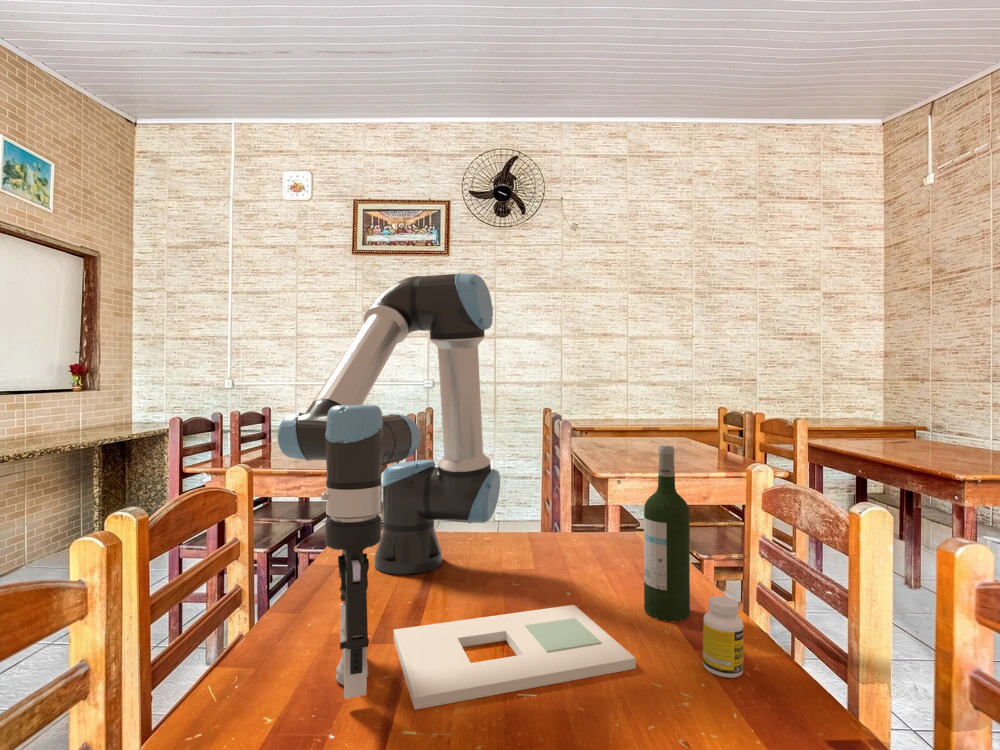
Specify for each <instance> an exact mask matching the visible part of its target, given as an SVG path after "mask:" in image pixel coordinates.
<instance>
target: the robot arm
mask: <svg viewBox="0 0 1000 750" xmlns="http://www.w3.org/2000/svg"><path fill="white" fill-rule="evenodd" d="M493 307H494V306H493V303H492V297H491V294H490V289H489V287H488V285H487V284H486V282H485V280H484V279H483V278H482V277H481V276H480V275H479V274H475V273H461V272H459V273H451V274H449V273H448V274H438V275H437V274H436V275H435V274H434V275H433V274H432V275H415V276H409V277H406V278H404V279H402V280H399V281H397V282H396V283H394V284H392V285H390V286H389V287H387V289H386V290H384V291H383V292H382V293H380V294H379V295H378V296H377V297H376V298H375V299H374V301H373V302H372V303H370V305H369V306H368V308H367V310H366V311H365V312H364V314H363V315H364V316H363V325H362V327H361V328H360V330H359V331H358V333H357V334H356V335H355V337H354V339H353V340H352V342H351V343H350V344H349V346H348V348H347V350H346V351H345V353H344V354H343V355H342V357H341V358H340V360H339V362H338V363H337V365H336V366H335V368H334V369H333V370H332V372H331V373H330V375H329V377H328V378H327V379H326V381H325V383H324V384H323V385H322V387H321V388H320V391H319V392H318V393H317V394H316V397H315V398H314V400H313V401H312V402H311V404H310V405H309V407H308V408H307V410H306V411H305V412H297V413H292V414H289V415H287V416H285V417H284V418H283V419H282V421H281V422H280V424H279V426H278V431H277V444H278V447H279V449H280V451H281V452H282V454H283V455H285V457H287V458H290V459H294V460H295V459H296V460H304V461H326V465H325V466H326V479H325V481H326V482H325V485H326V488H325V489H326V492H323V493H322V494H321V495H320V499H321V500H322V501H326V502H325V504H326V505H325V514H326V515H327V516H328V518H327V519H326V520H325V526H324V527H325V533H324V534H325V535H324V536H325V537H324V539H325V540H324V541H325V544H326V546H327V547H328V548H330V549H332V550H336V551H340V550H341V555H338V556H337V567H338V575H339V578H340V586H339V591H340V596H339V597H340V600H341V602H340V620H339V621H340V622H339V623H340V627H339V628H340V629H339V630H340V633H339V634H340V635H339V638H340V639H339V650H343V649H345V660H344V685H343V687H344V688H343V689H344V690H343V697H344V699H351V698H357V697H362V696H367V683H368V682H367V681H368V680H367V678H368V676H367V670H368V669H367V664H368V660H367V658H368V651H367V650H368V647H369V643H370V639H369V636H368V634H369V632H368V628H369V627H368V601H367V599H368V598H367V597H368V595H367V593H368V586H369V582H368V581H369V580H368V579H369V577H368V572H369V568H370V561H369V558H368V553H365V552H364V550H366V549H367V548H373V547H374V546H376V545H377V547H376V550H375V554H374V568H375V569H376V570H377V571H379V572H382V573H386V574H390V575H414V574H421V573H427V572H429V571H433V570H435V569H437V568H438V567H440V566H441V564H442V563H443V562H442V560H443V558H442V554H443V553H442V549H441V545H440V543H439V540H438V537H437V534H436V530H435V521H445V522H454V523H455V522H456V523H466V524H473V523H474V524H475V523H476V524H485V523H487V522H489V521H490V520H491V519H492V517H493V516H494V513H495V511H496V508H497V505H498V501H499V496H500V490H501V476H500V471H499V470H496V469H493V468H492V466H491V465H492V464H491V458H490V457H488V456H487V455H486V454H485V453H484V444H483V443H484V441H483V440H484V439H483V424H482V423H483V421H482V402H481V401H482V399H481V382H480V381H481V379H480V362H479V361H480V359H479V345H480V343H481V342H482V341H483V340H484V339H485V337H486V336H485V333H486V332H485V331H486V330H488V329H490V328H491V327H492V324H493V317H494V309H493ZM418 331H419V332H420V331H423V332H424V331H425V332H426V331H429V340H430V341H431V343H432V344H434V345H435V346H436V347H437V357H438V373H439V390H440V391H439V392H440V393H439V394H440V406H441V407H440V411H441V422H442V423H441V424H442V425H441V426H442V440H443V441H442V442H443V443H442V444H443V456H442V457H441V459H440V460H439V461H438V462H437V467H436V463H435V460H433V459H420V460H411V461H405V462H404V461H403V460H406V459H407V458H409V457H411V456H413V454H414V453H416V452H417V449H418V447H419V445H420V441H421V433H420V430H419V427H418V424H417V423H416V422H415V421H414V419H412V418H411V417H409V416H407V415H404V414H396V413H391V414H388V415H386V414H385V415H383V413H382V412H383V411H382V410H381V408H380V407H379V406H378V405H373V404H364V403H365V401H366V399H367V397H368V395H369V393H370V392H371V390H372V388H373V387H374V385H375V383H376V381H377V379H378V378H379V376H380V374H381V373H382V371H383V369H384V367H385V365H386V364H387V363H388V361H389V358H390V357H391V354H393V352H394V349H395V347H396V346H397V344H400V343H402V342H403V341H404V340H406V338H407V336H408V335H409V334H410V333H413V332H418ZM401 461H402V462H401ZM393 463H394V464H393ZM389 464H391V465H389ZM386 465H388V466H387V467H386V468H385V469H384V472H383V479H382V466H386ZM381 512H382V517H381V516H380V513H381ZM345 619H346V641H345V642H343V641H342V638H343V637H344V634H343V632H342V631H341V627H342V625H343V621H344V620H345ZM354 636H356V637H354Z"/></svg>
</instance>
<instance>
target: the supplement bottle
mask: <svg viewBox="0 0 1000 750" xmlns="http://www.w3.org/2000/svg"><path fill="white" fill-rule="evenodd" d="M708 610H709V611H706V612H705V614H704V615H703V625H702V626H703V633H702V634H703V635H702V637H703V638H702V639H703V640H702V664H703V667H704V668H705V669H706V671H708V672H709V673H711V674H713V675H715V676H718V677H721V678H728V679H732V678H733V679H734V678H739V677H740V676H742V675H743V672H744V649H745V648H744V647H745V645H744V635H745V634H744V633H745V631H744V628H745V627H744V622H743V619H742V618H741V617H740V616H738V614H739V611H740V610H739V602H738V601H737V600H736V599H734V598H732V597H728V596H722V595H714V596H713V595H712V596H710V597H709V598H708Z"/></svg>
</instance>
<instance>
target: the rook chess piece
mask: <svg viewBox="0 0 1000 750" xmlns="http://www.w3.org/2000/svg"><path fill="white" fill-rule="evenodd" d="M341 631H342V632H343V634H344V637H343V638H342V641H343V642H345V641H346V619H345V620H344V621H343V625H342V627H341ZM354 637H356V636H354ZM344 660H345V649H342V655H341V658H340V659H339V663H338V665H337V666H336V669H335V672H336V674H335V680H336V681H337V682H338V684H339V685H342V686H344ZM368 669H369V665H368V663H367V677H368V676H369V670H368Z"/></svg>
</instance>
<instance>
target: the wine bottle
mask: <svg viewBox="0 0 1000 750" xmlns="http://www.w3.org/2000/svg"><path fill="white" fill-rule="evenodd" d="M674 455H675V448H674V445H668V444H662V445H661V444H660V445H659V447H658V473H657V474H658V475H657V488H656V491H655V492H654V493H653V494H652V495H650V496H649V497H648V499H646V500H645V501H646V502H645V503H644V508H643V536H644V537H643V539H644V540H643V545H644V546H643V564H644V565H643V568H644V569H643V573H644V574H643V575H644V576H643V577H644V578H643V586H644V587H643V593H644V594H643V597H644V598H643V601H644V602H643V603H644V604H643V608H644V612H645V613H646V615H647V616H649V615H650V616H649V617H651V616H652V617H651V618H653V617H654V618H653V619H655V618H657V619H656V620H658V619H660V620H659V621H662V620H666V621H665V622H668V621H678V622H681V621H680V620H683V621H685V620H687V619H688V618H689V617H690V615H691V595H690V594H691V588H690V585H691V584H690V583H691V579H690V577H691V573H690V572H691V571H690V570H691V569H690V567H691V563H690V562H691V561H690V560H691V559H690V558H691V557H690V556H691V553H690V552H691V551H690V549H691V548H690V547H691V546H690V543H691V541H690V540H691V539H690V536H691V534H690V533H691V529H690V528H691V527H690V518H691V517H690V515H691V513H690V508H689V505H688V503H687V501H686V500H685V499H684V498H683V497H682V496H681V495H680V494H679V493H678V492H677V489H676V480H675V479H676V477H675V474H676V473H675V456H674ZM686 618H687V619H686ZM684 619H685V620H684Z"/></svg>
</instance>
